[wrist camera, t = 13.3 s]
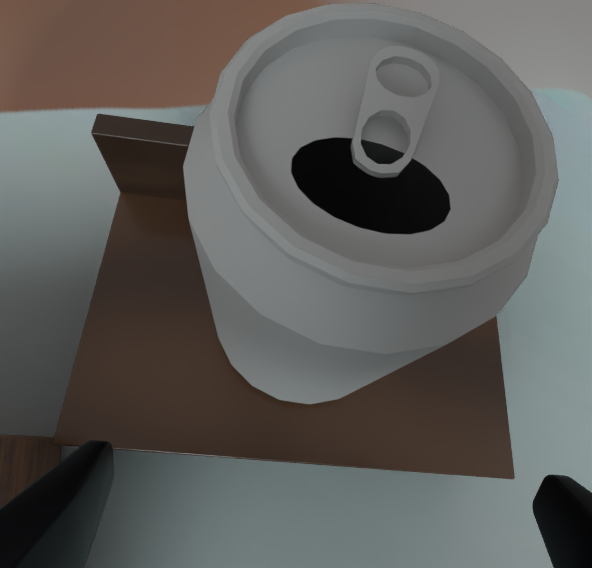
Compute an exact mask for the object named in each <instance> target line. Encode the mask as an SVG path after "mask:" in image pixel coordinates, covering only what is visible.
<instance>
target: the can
mask: <svg viewBox="0 0 592 568" xmlns="http://www.w3.org/2000/svg"><path fill="white" fill-rule="evenodd" d="M183 171H184V181H185V190H186V199H187V209H188V218H189V222H190V226H191V230H192V234H193V238H194V242H195V246H196V250H197V254H198V258H199V262H200V266H201V270H202V274H203V278H204V282H205V286H206V290H207V294H208V298H209V302H210V306H211V310H212V314H213V318H214V322H215V326H216V330H217V334H218V338H219V340H220V342H221V344H222V347H223V349H224V351H225V353H226V355H227V357H228V359H229V361H230V363H231V365H232V366H233V367H234V368H235V369H236V370H237V371H238V372H239V373H240V374H241V375H242V376H243V377H244V378H245V379H246V380H247V381H248V382H249V383H250V384H251V385H252V386H253V387H255V388H257V389H259V390H261V391H263V392H265V393H267V394H269V395H271V396H273V397H275V398H277V399H279V400H283V401H290V402H296V403H303V404H315V403H320V402H326V401H331V400H337V399H340V398H342V397H344V396H346V395H348V394H350V393H352V392H354V391H356V390H358V389H360V388H362V387H364V386H366V385H368V384H370V383H372V382H374V381H376V380H378V379H380V378H381V377H383V376H385V375H387V374H389V373H391V372H393V371H395V370H397V369H399V368H401V367H403V366H405V365H407V364H409V363H411V362H413V361H415V360H417V359H419V358H421V357H423V356H425V355H427V354H429V353H431V352H433V351H435V350H437V349H439V348H441V347H443V346H445V345H446V344H448V343H450V342H452V341H454V340H455V339H457V338H459V337H461V336H462V335H464V334H466V333H467V332H469V331H471V330H473V329H474V328H476V327H478V326H480V325H481V324H483V323H485V322H487V321H488V320H490V319H492V318H494V317H495V316H496V315H497V314H498V313H499V311H500V310H501V309H502V308H503V306H504V305H505V304H506V302H507V301H508V300H509V299H510V297H511V296H512V295H513V293H514V292H515V291H516V290H517V288H518V287H519V286H520V284H521V283H522V282H523V281H524V279H525V278H526V277H527V274H528V270H529V266H530V263H531V259H532V255H533V251H534V248H535V244H536V240H537V237H538V234H539V233H540V232H541V230H542V229H543V228H544V227H545V225H546V224H547V223H548V219H549V215H550V211H551V207H552V204H553V200H554V196H555V192H556V189H557V185H558V181H559V179H558V172H557V164H556V156H555V148H554V141H553V136H552V133H551V131H550V129H549V127H548V125H547V123H546V121H545V119H544V117H543V115H542V112H541V110H540V108H539V106H538V104H537V102H536V100H535V98H534V96H533V94H532V92H531V91H530V90H529V89H528V88H527V87H526V86H525V84H524V83H523V82H522V81H521V80H520V79H519V78H518V76H517V75H516V74H515V73H514V72H513V71H512V70H511V69H510V67H509V66H508V65H507V64H506V63H505V62H504V61H503V59H502V58H500V57H499V56H497V55H496V54H495V53H493V52H492V51H490V50H489V49H488V48H486V47H485V46H483V45H482V44H481V43H479V42H478V41H476V40H475V39H474V38H472V37H471V36H469V35H468V34H467V33H465V32H464V31H461V30H459V29H457V28H455V27H452V26H450V25H448V24H445V23H443V22H441V21H438V20H436V19H434V18H432V17H429V16H427V15H425V14H422V13H419V12H414V11H410V10H405V9H400V8H395V7H390V6H385V5H380V4H376V3H365V4H328V5H324V6H320V7H317V8H313V9H310V10H306V11H302V12H298V13H294V14H290V15H287V16H284V17H283V18H281V19H280V20H278V21H276V22H274V23H273V24H271V25H270V26H268V27H266V28H265V29H263V30H262V31H260V32H258V33H257V34H255V35H254V36H252V37H250V38H249V39H247V40H246V41H245V43H244V44H243V45H242V46H241V48H240V49H239V50H238V52H237V53H236V54H235V55H234V57H233V58H232V60H231V61H230V62H229V63H228V64H227V66H226V67H225V68H224V69H223V71H222V72H221V74H220V78H219V81H218V85H217V89H216V92H215V96H214V98H213V100H212V101H211V102H210V104H209V105H208V106H207V107H206V109H205V110H204V111H203V113H202V114H201V115H200V117H199V118H198V119H197V120H196V123H195V127H194V130H193V134H192V137H191V141H190V144H189V148H188V151H187V155H186V158H185V161H184V165H183Z"/></svg>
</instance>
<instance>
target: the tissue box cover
mask: <svg viewBox="0 0 592 568" xmlns="http://www.w3.org/2000/svg"><path fill="white" fill-rule="evenodd" d="M53 440H54V437H37V436H17V435H0V508H1V507H2V506H4V505H5V504H6V503H8V502H9V501H10V500H11V499H13V498H14V497H15V496H17V495H18V494H19V493H21V492H22V491H23V490H24V489H26V488H27V487H28V486H30V485H31V484H32V483H34V482H35V481H36V480H38V479H39V478H40V477H41V476H43V475H44V474H45V473H47V472H48V471H49V470H51V469H52V468H53V467H54V466H56V465H57V464H58V463H60V458H61V445H54V444H53Z"/></svg>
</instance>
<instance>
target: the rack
mask: <svg viewBox="0 0 592 568" xmlns="http://www.w3.org/2000/svg"><path fill="white" fill-rule="evenodd" d="M193 130H194V127H193V126H185V125H178V124H171V123H163V122H156V121H148V120H141V119H134V118H126V117H119V116H112V115H104V114H97V116H96V119H95V123H94V126H93V129H92V132H91V133H92V136H93V138H94V140H95V142H96V144H97V146H98V148H99V150H100V152H101V154H102V156H103V158H104V160H105V162H106V164H107V166H108V168H109V170H110V172H111V174H112V176H113V178H114V180H115V182H116V184H117V186H118V188H119V190H120V192H121V193H120V196H119V200H118V204H117V207H116V211H115V215H114V219H113V222H112V226H111V230H110V233H109V237H108V241H107V244H106V248H105V252H104V255H103V259H102V263H101V267H100V270H99V274H98V278H97V281H96V285H95V289H94V292H93V296H92V300H91V303H90V307H89V311H88V314H87V318H86V322H85V326H84V329H83V333H82V337H81V340H80V344H79V348H78V351H77V355H76V359H75V362H74V366H73V370H72V374H71V377H70V381H69V385H68V388H67V392H66V396H65V399H64V403H63V407H62V410H61V414H60V418H59V421H58V425H57V429H56V433H55V436H54V440H53V444H54V445H63V446H76V447H81V446H82V445H83V444H84V443H86V442H88V441H90V440H98V441H108V442H110V443H111V444H112V449H116V450H130V451H143V452H156V453H170V454H183V455H196V456H210V457H223V458H236V459H250V460H263V461H276V462H290V463H303V464H316V465H330V466H343V467H356V468H370V469H383V470H396V471H410V472H423V473H436V474H450V475H463V476H476V477H490V478H503V479H514V478H515V477H514V468H513V459H512V451H511V442H510V433H509V424H508V415H507V406H506V397H505V389H504V380H503V371H502V362H501V353H500V344H499V336H498V327H497V318H496V316H495V317H494V318H492V319H490V320H488V321H487V322H485V323H483V324H481V325H480V326H478V327H476V328H474V329H473V330H471V331H469V332H467V333H466V334H464V335H462V336H461V337H459V338H457V339H455V340H454V341H452V342H450V343H448V344H446V345H445V346H443V347H441V348H439V349H437V350H435V351H433V352H431V353H429V354H427V355H425V356H423V357H421V358H419V359H417V360H415V361H413V362H411V363H409V364H407V365H405V366H403V367H401V368H399V369H397V370H395V371H393V372H391V373H389V374H387V375H385V376H383V377H381V378H380V379H378V380H376V381H374V382H372V383H370V384H368V385H366V386H364V387H362V388H360V389H358V390H356V391H354V392H352V393H350V394H348V395H346V396H344V397H342V398H340V399H337V400H331V401H326V402H320V403H315V404H303V403H296V402H290V401H283V400H279V399H277V398H275V397H273V396H271V395H269V394H267V393H265V392H263V391H261V390H259V389H257V388H255V387H253V386H252V385H251V384H250V383H249V382H248V381H247V380H246V379H245V378H244V377H243V376H242V375H241V374H240V373H239V372H238V371H237V370H236V369H235V368H234V367H233V366H232V365H231V363H230V361H229V359H228V357H227V355H226V353H225V351H224V349H223V347H222V344H221V342H220V340H219V338H218V334H217V330H216V326H215V322H214V318H213V314H212V310H211V306H210V302H209V298H208V294H207V290H206V286H205V282H204V278H203V274H202V270H201V266H200V262H199V258H198V254H197V250H196V246H195V242H194V238H193V234H192V230H191V226H190V222H189V218H188V209H187V199H186V190H185V181H184V171H183V165H184V161H185V158H186V155H187V151H188V148H189V144H190V141H191V137H192V134H193Z"/></svg>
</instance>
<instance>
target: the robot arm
mask: <svg viewBox="0 0 592 568" xmlns="http://www.w3.org/2000/svg"><path fill="white" fill-rule="evenodd" d="M113 476H114V467H113V449H112V444H111V443H110V442H108V441H98V440H90V441H88V442H86V443H84V444H83V445H82V446H81V447H79V448H78V449H77V450H75V451H74V452H73V453H71V454H70V455H69V456H67V457H66V458H65V459H64V460H62V461H61V462H60V463H58V464H57V465H56V466H54V467H53V468H52V469H51V470H49V471H48V472H47V473H45V474H44V475H43V476H41V477H40V478H39V479H38V480H36V481H35V482H34V483H32V484H31V485H30V486H28V487H27V488H26V489H24V490H23V491H22V492H21V493H19V494H18V495H17V496H15V497H14V498H13V499H11V500H10V501H9V502H8V503H6V504H5V505H4V506H2V507H1V508H0V568H84V566H85V563H86V560H87V557H88V555H89V552H90V549H91V546H92V543H93V540H94V537H95V534H96V530H97V527H98V524H99V521H100V518H101V515H102V512H103V509H104V506H105V503H106V500H107V497H108V494H109V491H110V488H111V485H112V481H113ZM533 513H534V516H535V519H536V521H537V524H538V527H539V530H540V532H541V535H542V538H543V540H544V543H545V546H546V548H547V551H548V554H549V556H550V559H551V562H552V565H553V567H554V568H592V493H591V492H590V491H588V490H587V489H586V488H584V487H583V486H581V485H580V484H579V483H577V482H576V481H574V480H573V479H572V478H570V477H568V476H563V475H547V476H546V477H545V478H544V479H543V482H542V484H541V486H540V488H539V490H538V492H537V494H536V496H535V498H534V500H533Z"/></svg>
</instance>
